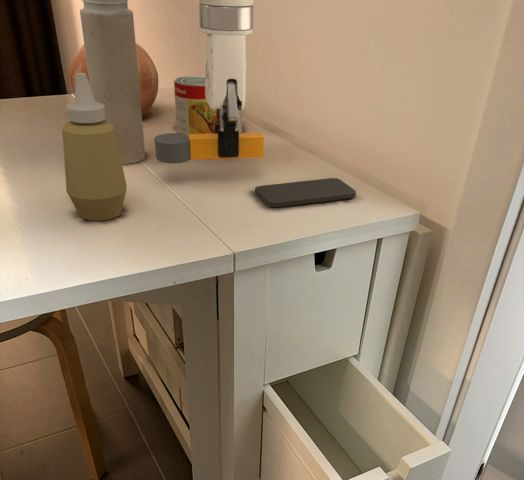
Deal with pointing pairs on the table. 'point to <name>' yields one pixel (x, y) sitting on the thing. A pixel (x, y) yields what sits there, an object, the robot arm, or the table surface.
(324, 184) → the phone
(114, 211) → the squeeze bottle
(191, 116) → the canned food
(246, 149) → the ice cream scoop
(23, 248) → the table surface
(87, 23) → the thermos bottle
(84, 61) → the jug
